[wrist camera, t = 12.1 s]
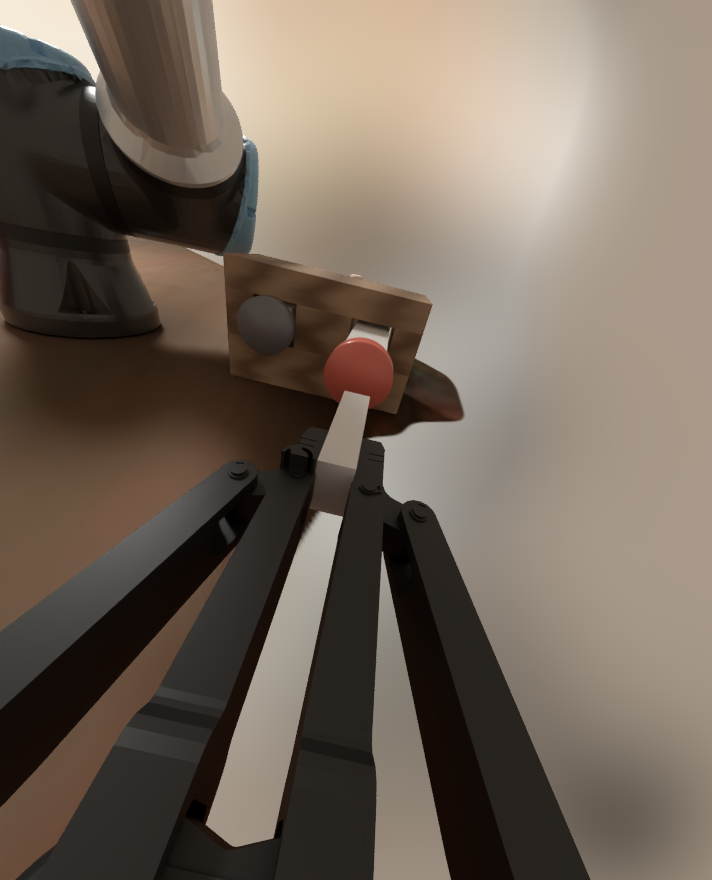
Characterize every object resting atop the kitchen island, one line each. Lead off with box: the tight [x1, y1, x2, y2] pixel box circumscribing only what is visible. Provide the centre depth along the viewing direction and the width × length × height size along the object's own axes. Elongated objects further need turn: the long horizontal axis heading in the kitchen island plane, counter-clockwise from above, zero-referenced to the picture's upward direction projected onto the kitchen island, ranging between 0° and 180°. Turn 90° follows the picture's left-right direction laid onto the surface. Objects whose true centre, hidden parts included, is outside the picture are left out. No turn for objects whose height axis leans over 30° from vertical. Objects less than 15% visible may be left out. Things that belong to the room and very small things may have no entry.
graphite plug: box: [237, 295, 297, 355], centre depth 31 cm, size 5×13×5 cm, turn 173°
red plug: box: [324, 320, 393, 409], centre depth 26 cm, size 5×13×5 cm, turn 173°
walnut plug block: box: [223, 253, 432, 414], centre depth 32 cm, size 20×8×12 cm, turn 83°
